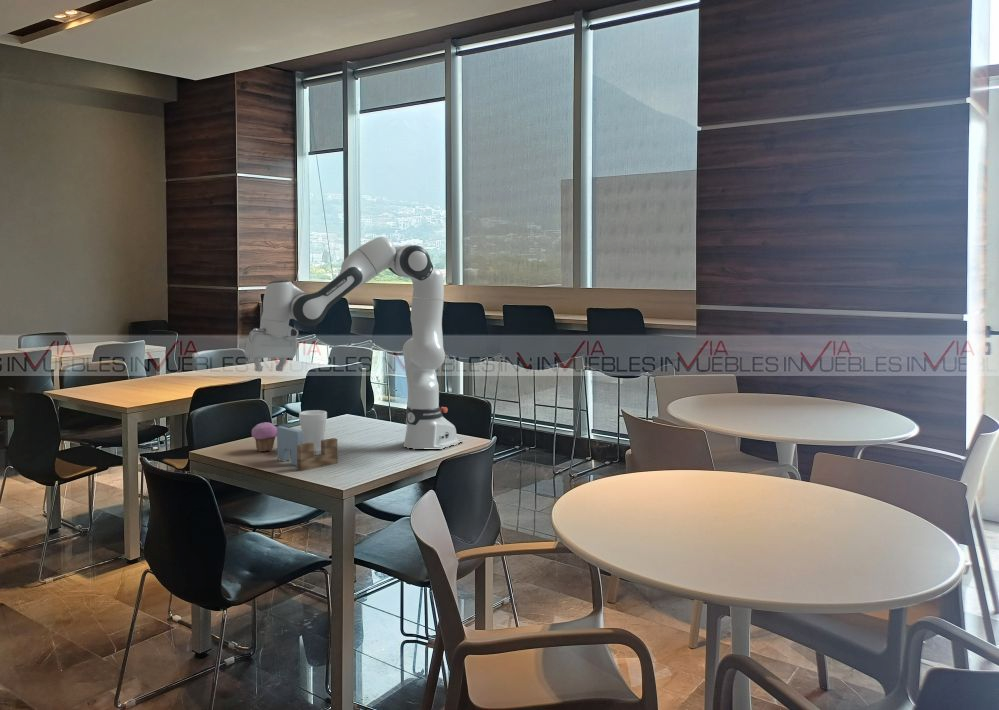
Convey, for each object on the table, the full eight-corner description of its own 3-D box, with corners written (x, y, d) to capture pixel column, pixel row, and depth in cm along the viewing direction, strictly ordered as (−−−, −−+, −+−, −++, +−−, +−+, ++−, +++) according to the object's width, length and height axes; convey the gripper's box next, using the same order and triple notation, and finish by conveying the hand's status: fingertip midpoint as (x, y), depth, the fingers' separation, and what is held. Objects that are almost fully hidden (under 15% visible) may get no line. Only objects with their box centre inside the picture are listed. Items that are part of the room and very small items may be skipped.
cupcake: (274, 446, 278) (273, 419, 277) (281, 451, 270) (281, 423, 269) (248, 449, 273) (247, 421, 272) (255, 454, 266) (255, 425, 264)
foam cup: (330, 446, 279) (330, 410, 277) (322, 452, 270) (321, 415, 268) (305, 445, 280) (304, 410, 278) (295, 451, 270) (295, 414, 269)
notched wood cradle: (334, 461, 257) (333, 438, 256) (337, 462, 256) (337, 438, 255) (297, 469, 247) (296, 444, 246) (301, 470, 245) (300, 445, 244)
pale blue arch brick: (277, 459, 259) (276, 426, 258) (282, 458, 261) (282, 426, 260) (298, 465, 251) (297, 432, 250) (303, 464, 253) (303, 431, 252)
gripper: (258, 329, 244) (253, 373, 245) (302, 331, 262) (297, 372, 263) (243, 326, 247) (238, 369, 248) (287, 329, 265) (282, 369, 266)
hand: (268, 371), depth 256 cm, fingers open, 8 cm apart
